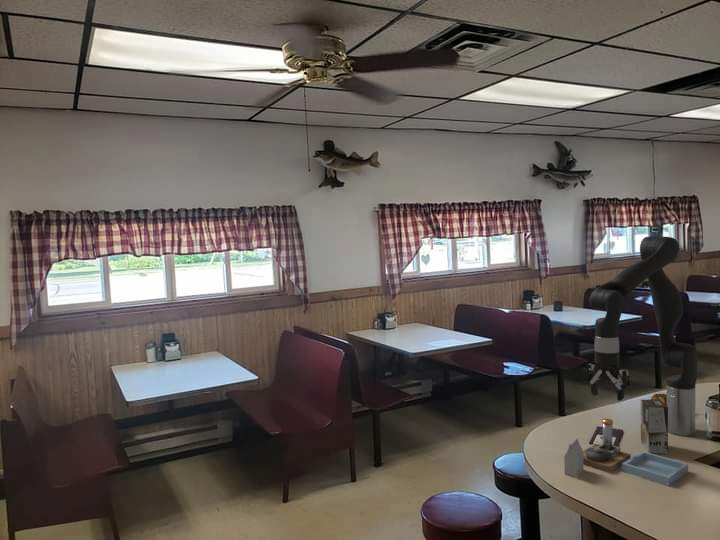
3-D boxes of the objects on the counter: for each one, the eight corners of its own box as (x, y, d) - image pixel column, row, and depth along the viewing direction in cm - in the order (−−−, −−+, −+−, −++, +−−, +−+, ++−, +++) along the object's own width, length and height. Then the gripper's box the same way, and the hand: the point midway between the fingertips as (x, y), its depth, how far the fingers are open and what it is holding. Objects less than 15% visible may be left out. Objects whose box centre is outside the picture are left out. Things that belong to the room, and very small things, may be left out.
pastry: (643, 412, 227) (643, 393, 226) (654, 404, 236) (654, 386, 235) (681, 420, 217) (681, 400, 216) (691, 411, 225) (691, 392, 225)
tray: (642, 458, 184) (642, 451, 183) (688, 471, 173) (688, 464, 172) (622, 471, 175) (621, 463, 175) (668, 486, 164) (668, 478, 164)
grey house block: (583, 469, 177) (583, 439, 177) (576, 477, 172) (576, 446, 171) (571, 466, 180) (571, 437, 179) (564, 474, 174) (564, 443, 174)
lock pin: (605, 449, 187) (605, 417, 186) (614, 452, 185) (614, 420, 184) (600, 452, 185) (600, 420, 184) (610, 454, 183) (609, 422, 182)
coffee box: (668, 454, 186) (668, 407, 185) (648, 453, 187) (648, 407, 186) (659, 443, 195) (659, 398, 194) (640, 442, 196) (640, 398, 195)
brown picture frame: (623, 429, 208) (616, 446, 192) (623, 432, 208) (616, 449, 192) (597, 426, 212) (589, 442, 197) (597, 428, 212) (589, 445, 197)
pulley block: (596, 449, 192) (595, 435, 192) (630, 460, 183) (630, 445, 182) (574, 461, 183) (574, 447, 183) (609, 473, 174) (609, 457, 174)
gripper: (633, 350, 179) (634, 399, 180) (592, 344, 190) (592, 390, 191) (622, 354, 175) (623, 404, 176) (580, 348, 186) (581, 395, 187)
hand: (607, 397), depth 184 cm, fingers open, 8 cm apart
